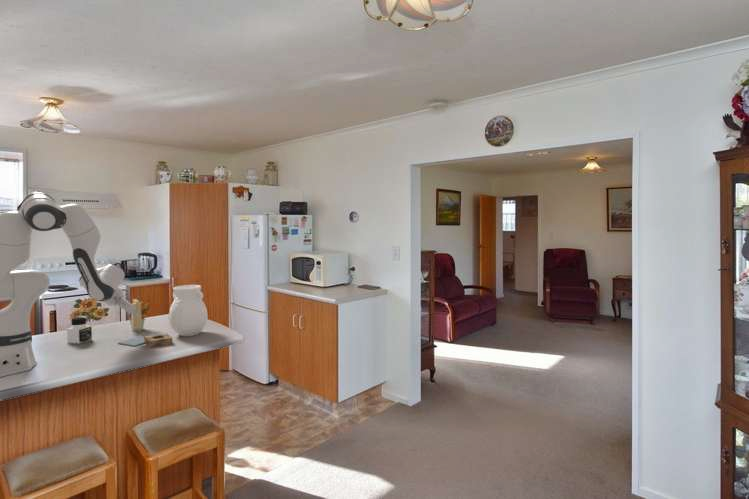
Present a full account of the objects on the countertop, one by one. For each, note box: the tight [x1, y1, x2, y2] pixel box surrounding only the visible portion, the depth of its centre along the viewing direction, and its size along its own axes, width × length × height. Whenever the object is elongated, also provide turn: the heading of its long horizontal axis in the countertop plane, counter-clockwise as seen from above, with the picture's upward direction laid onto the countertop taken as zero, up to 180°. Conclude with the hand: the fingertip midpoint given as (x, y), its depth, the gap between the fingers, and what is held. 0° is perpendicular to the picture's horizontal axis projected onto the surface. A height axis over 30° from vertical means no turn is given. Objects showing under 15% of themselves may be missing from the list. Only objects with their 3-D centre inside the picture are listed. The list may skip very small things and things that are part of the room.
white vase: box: [168, 284, 209, 337], centre depth 222 cm, size 19×18×25 cm
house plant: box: [125, 301, 151, 332], centre depth 228 cm, size 14×14×16 cm
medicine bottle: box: [66, 315, 93, 345], centre depth 208 cm, size 7×7×12 cm
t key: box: [130, 298, 143, 329], centre depth 206 cm, size 4×8×14 cm, turn 39°
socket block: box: [143, 332, 173, 348], centre depth 206 cm, size 10×10×3 cm
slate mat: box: [117, 336, 146, 347], centre depth 208 cm, size 11×11×1 cm
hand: (137, 313), depth 207 cm, fingers closed on t key, 4 cm apart
